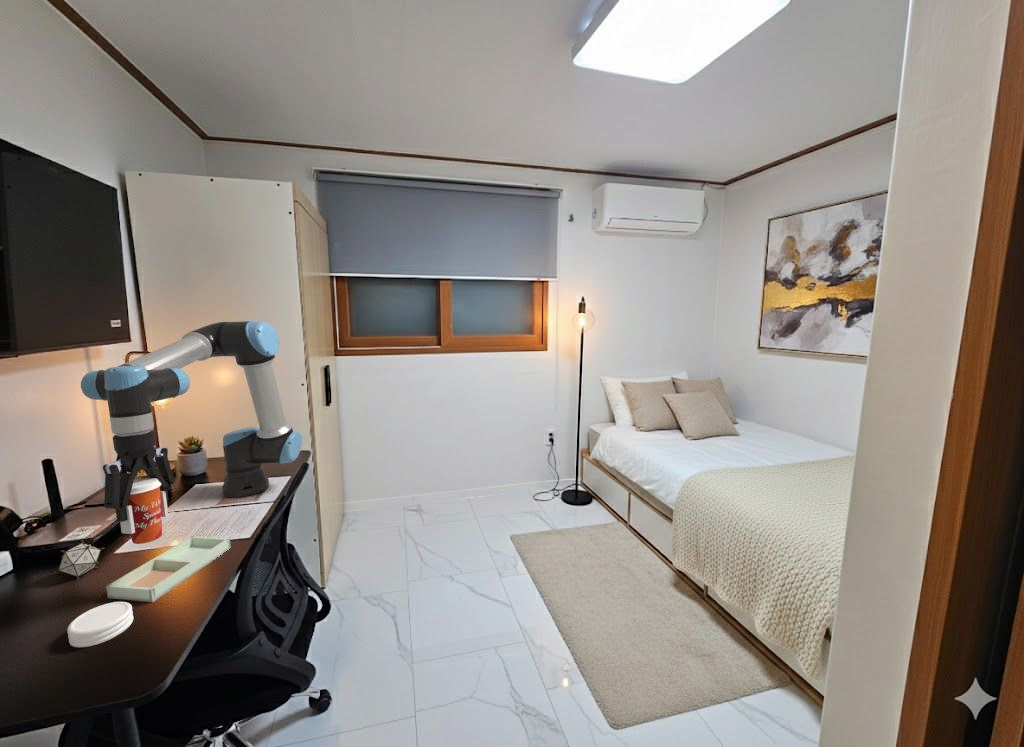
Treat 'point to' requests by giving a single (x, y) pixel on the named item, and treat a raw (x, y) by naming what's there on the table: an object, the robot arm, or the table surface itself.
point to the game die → (79, 560)
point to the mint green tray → (168, 569)
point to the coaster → (100, 624)
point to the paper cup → (146, 510)
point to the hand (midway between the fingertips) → (146, 524)
